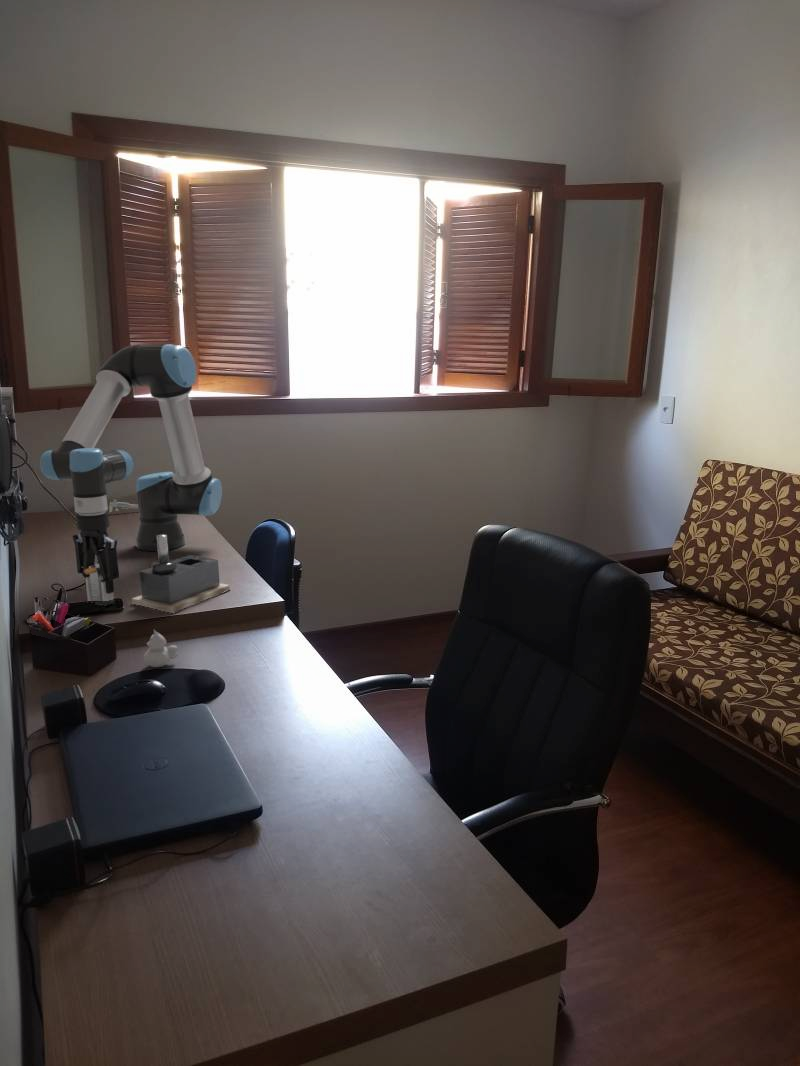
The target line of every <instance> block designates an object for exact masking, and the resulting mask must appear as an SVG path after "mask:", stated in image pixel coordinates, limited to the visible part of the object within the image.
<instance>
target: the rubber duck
mask: <svg viewBox="0 0 800 1066" xmlns="http://www.w3.org/2000/svg"><path fill="white" fill-rule="evenodd" d="M146 645H147V646H148V649H147V651H146V652H145V653H144V654H143V660H144V662H145V663H146V664H147V665H149V666H150V667H152V668H161V667H162V668H163V667H165V666H166V665H167V664H168V663H170V661H171V660H173V659H177V658H178V653H177V652H178V646H177V645H174V644H172V645H168V646H166V645H167V640H166V637H164V635H162V634H161V633H160V632H158V631H156V630H155V629H153V633H152V635H151V636H150V638H149V641H148V642H146Z"/></svg>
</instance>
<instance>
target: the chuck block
mask: <svg viewBox="0 0 800 1066" xmlns="http://www.w3.org/2000/svg"><path fill="white" fill-rule="evenodd" d="M157 546H158V551H157V555H158V557H157V558H158V560H155V561H153V562H151V564H150V565H151V567H148V568H146V569H143V570H140V571H139V577H140V578H139V580H140V586H141V587H140V589H141V590H140V591H141V595H142V598H144V599H148V600H153V601H157V602H161V603H166V604H170V605H171V604H174V603H176V602H179V601H181V600H184V599H187V598H189V597H192V596H194V595H197V594H199V593H202V592H204V591H207V590H210V589H212V588H215V587H217V586H220V583H221V582H220V571H219V559H216V558H210V557H203V556H198V555H192V554H188V555H184V556H182V557H179V558H176V559H170V556H169V550H168V544H167V535H165V534H161V535H157Z"/></svg>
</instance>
